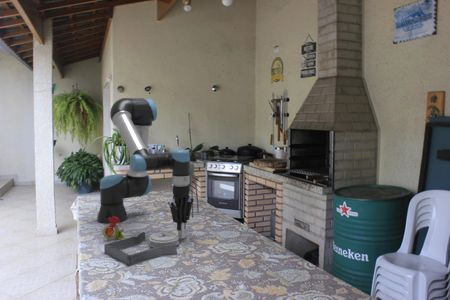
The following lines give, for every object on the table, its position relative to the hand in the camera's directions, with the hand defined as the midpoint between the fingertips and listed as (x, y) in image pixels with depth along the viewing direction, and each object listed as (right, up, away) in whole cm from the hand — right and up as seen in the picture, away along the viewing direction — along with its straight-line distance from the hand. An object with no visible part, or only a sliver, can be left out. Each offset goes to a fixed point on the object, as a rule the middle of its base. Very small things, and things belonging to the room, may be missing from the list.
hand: (181, 236), depth 169 cm
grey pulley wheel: (-7, -2, -7) cm, 10 cm away
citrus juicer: (-1, +2, +43) cm, 43 cm away
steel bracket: (-15, -3, -15) cm, 22 cm away
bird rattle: (-30, -2, -1) cm, 30 cm away
